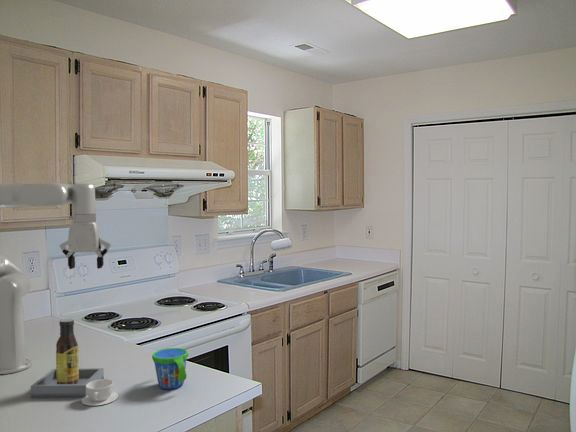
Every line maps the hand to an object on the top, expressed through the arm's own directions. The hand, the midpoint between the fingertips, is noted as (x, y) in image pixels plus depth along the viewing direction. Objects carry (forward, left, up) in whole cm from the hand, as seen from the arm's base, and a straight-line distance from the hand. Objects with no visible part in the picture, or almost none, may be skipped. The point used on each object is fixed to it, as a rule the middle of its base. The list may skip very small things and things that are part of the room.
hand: (86, 268), depth 174 cm
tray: (+3, -23, -33) cm, 41 cm away
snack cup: (+34, -22, -34) cm, 53 cm away
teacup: (+16, -31, -34) cm, 49 cm away
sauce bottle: (+3, -23, -32) cm, 40 cm away
